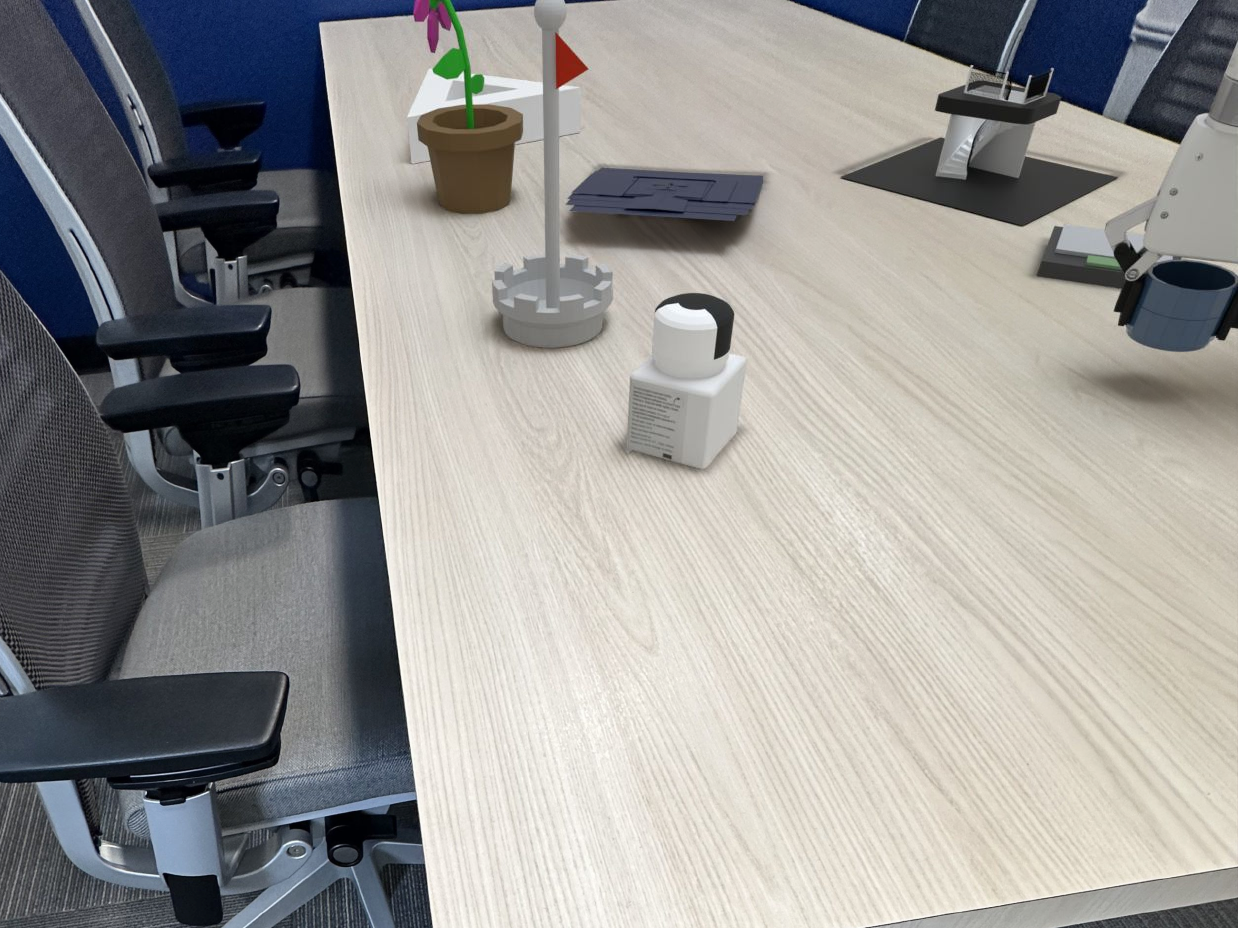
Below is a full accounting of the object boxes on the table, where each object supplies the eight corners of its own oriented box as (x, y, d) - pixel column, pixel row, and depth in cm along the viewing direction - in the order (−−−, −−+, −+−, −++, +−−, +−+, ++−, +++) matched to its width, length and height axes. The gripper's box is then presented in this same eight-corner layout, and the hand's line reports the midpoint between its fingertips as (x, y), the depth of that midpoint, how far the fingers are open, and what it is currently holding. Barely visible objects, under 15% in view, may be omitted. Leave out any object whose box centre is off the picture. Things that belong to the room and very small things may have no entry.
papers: (553, 234, 122) (554, 202, 120) (598, 187, 145) (600, 160, 142) (746, 246, 117) (751, 213, 115) (762, 196, 140) (766, 168, 138)
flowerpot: (448, 181, 142) (427, -80, 120) (539, 189, 138) (535, -79, 117) (407, 213, 132) (377, -63, 111) (504, 223, 129) (493, -61, 107)
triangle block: (432, 110, 169) (429, 68, 164) (580, 107, 168) (580, 64, 163) (411, 164, 148) (406, 117, 143) (580, 161, 147) (580, 113, 142)
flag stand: (470, 324, 107) (446, -7, 86) (558, 291, 113) (556, -27, 91) (546, 363, 100) (541, 12, 78) (636, 326, 105) (654, -11, 84)
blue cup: (1212, 325, 89) (1240, 265, 85) (1210, 358, 85) (1240, 296, 81) (1126, 313, 91) (1150, 255, 88) (1120, 345, 87) (1145, 284, 83)
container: (661, 416, 91) (672, 277, 82) (737, 436, 89) (757, 294, 79) (624, 454, 87) (631, 311, 78) (703, 476, 84) (720, 330, 75)
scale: (1173, 263, 114) (1185, 237, 112) (1169, 302, 106) (1181, 275, 104) (1047, 246, 118) (1056, 221, 116) (1034, 281, 111) (1043, 256, 109)
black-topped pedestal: (839, 177, 138) (860, 69, 129) (940, 138, 150) (965, 35, 140) (1022, 226, 123) (1060, 107, 114) (1118, 178, 135) (1160, 66, 125)
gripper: (1397, 100, 74) (1280, 325, 87) (1147, 84, 80) (1071, 297, 93) (1407, 126, 70) (1282, 361, 82) (1141, 108, 76) (1062, 329, 88)
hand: (1171, 325), depth 87 cm, fingers closed on blue cup, 7 cm apart
